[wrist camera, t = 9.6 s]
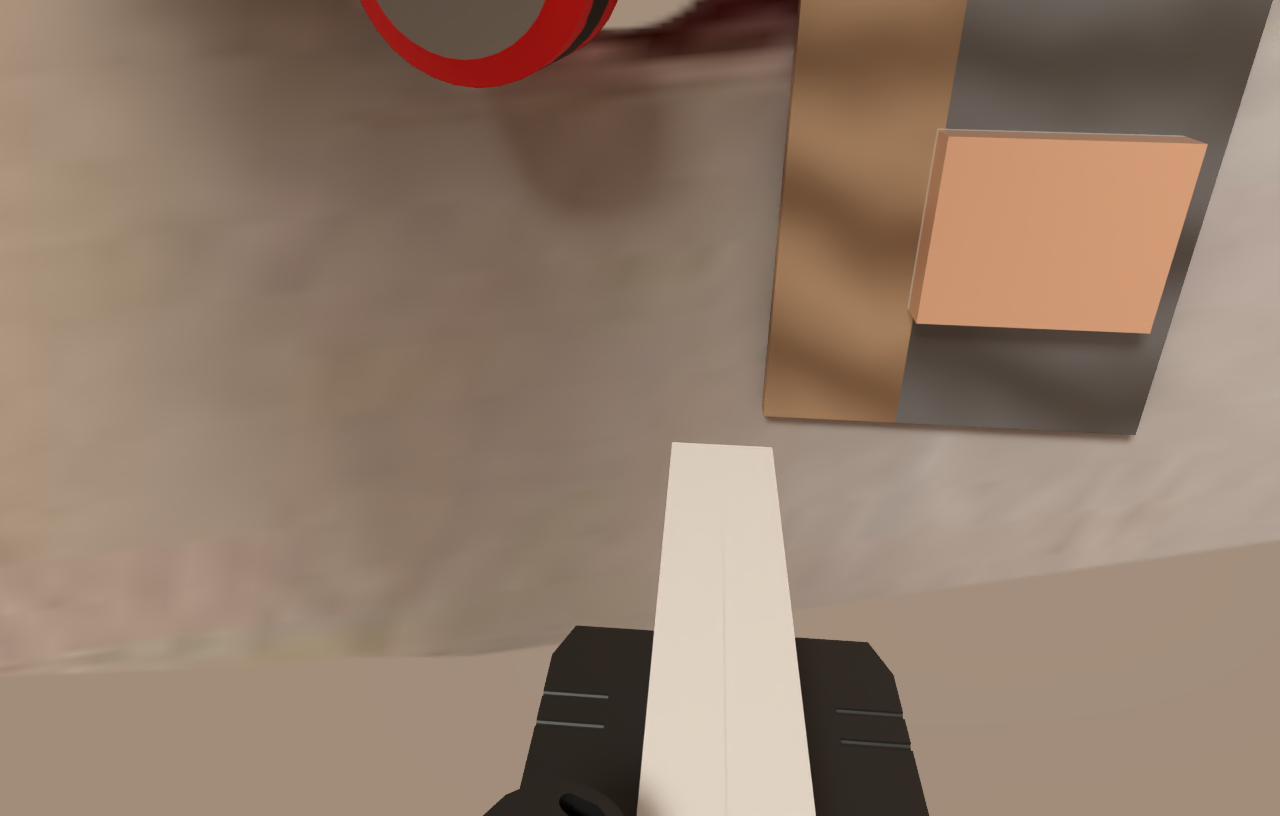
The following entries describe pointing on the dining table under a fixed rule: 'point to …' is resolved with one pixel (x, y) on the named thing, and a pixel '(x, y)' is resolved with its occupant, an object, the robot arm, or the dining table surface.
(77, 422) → the dining table surface
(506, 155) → the dining table surface
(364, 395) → the dining table surface
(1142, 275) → the tile
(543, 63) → the soda can
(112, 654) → the dining table surface
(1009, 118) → the board
